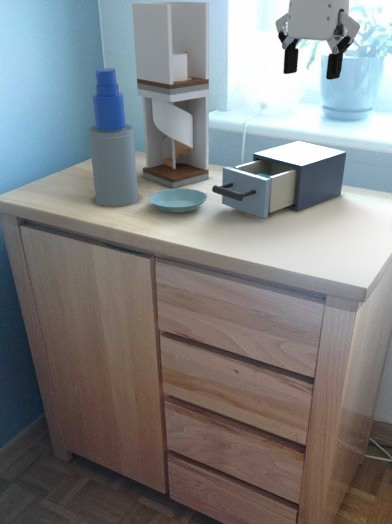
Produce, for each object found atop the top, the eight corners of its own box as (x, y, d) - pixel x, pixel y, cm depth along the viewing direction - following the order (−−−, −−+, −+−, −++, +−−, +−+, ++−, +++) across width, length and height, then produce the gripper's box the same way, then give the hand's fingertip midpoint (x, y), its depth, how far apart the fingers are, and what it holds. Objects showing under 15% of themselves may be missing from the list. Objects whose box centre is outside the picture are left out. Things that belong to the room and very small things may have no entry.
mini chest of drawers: (297, 212, 112) (301, 165, 107) (251, 196, 119) (253, 153, 114) (340, 195, 120) (346, 151, 115) (294, 182, 128) (298, 141, 122)
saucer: (137, 209, 114) (136, 198, 113) (176, 194, 121) (176, 184, 120) (180, 222, 107) (179, 211, 106) (218, 206, 115) (219, 195, 113)
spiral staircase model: (143, 176, 132) (132, 3, 113) (177, 168, 138) (173, 1, 118) (173, 188, 125) (167, 4, 105) (208, 178, 131) (209, 2, 111)
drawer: (246, 225, 104) (247, 186, 100) (204, 209, 111) (204, 172, 107) (308, 202, 114) (311, 165, 110) (266, 189, 121) (268, 154, 117)
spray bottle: (125, 189, 124) (115, 64, 110) (145, 200, 118) (137, 69, 104) (89, 197, 120) (73, 68, 106) (107, 209, 114) (94, 74, 100)
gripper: (380, -40, 89) (363, 78, 98) (295, -38, 99) (287, 69, 109) (352, -41, 84) (338, 83, 94) (266, -38, 95) (261, 73, 105)
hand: (310, 75), depth 101 cm, fingers open, 9 cm apart
